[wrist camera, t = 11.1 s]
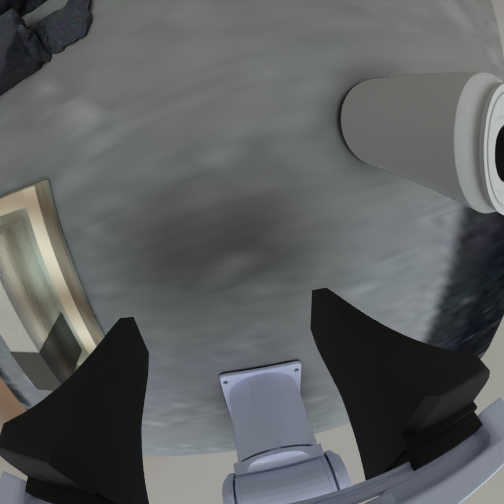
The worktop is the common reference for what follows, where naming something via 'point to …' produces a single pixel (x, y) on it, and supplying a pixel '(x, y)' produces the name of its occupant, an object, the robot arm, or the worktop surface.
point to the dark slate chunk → (36, 37)
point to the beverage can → (433, 132)
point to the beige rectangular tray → (54, 260)
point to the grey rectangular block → (32, 313)
